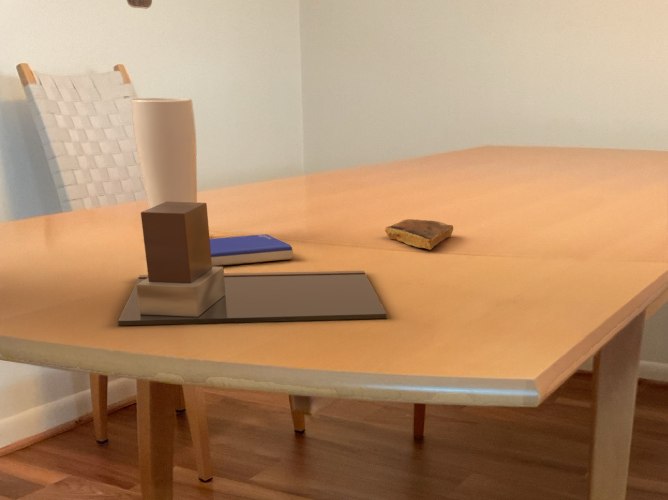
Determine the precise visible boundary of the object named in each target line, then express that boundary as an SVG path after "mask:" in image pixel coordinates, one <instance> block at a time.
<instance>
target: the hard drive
mask: <svg viewBox="0 0 668 500" xmlns="http://www.w3.org/2000/svg"><path fill="white" fill-rule="evenodd" d="M210 249H211V261H212V266H214V267H223V266H232V265H241V264H253V263H263V262H275V261H285V260H287V261H288V260H293V258H294V257H293V256H294V255H293V246H292V245H291V244H290V243H287V242H286V241H283V240H281V239H278V238H276V237H274V236H271V235H269V234H267V233H265V234H253V235H240V236H229V237H228V236H227V237H215V238H210Z"/></svg>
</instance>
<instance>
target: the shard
mask: <svg viewBox="0 0 668 500" xmlns="http://www.w3.org/2000/svg"><path fill="white" fill-rule="evenodd" d="M453 231H454V226H453V224H447V223H444V222H443V221H442V222H441V221H436V220H427V219H413V218H410V219H402V220H400V221H398V222H397V223H394V224H392V225H388V226H386V227H385V229H384V232H385V233H386V236H387V237H388V238H389V239H390V240H397V241H398V242H402V243H404V244H406V245H407V246H413V247H415V248H420V249H426V250H429V251H430V250H431V251H432V249H434V247H435V246H437V245H439V244H440V243H441V242H443V241H444V240H446V239H448V238H451V237H452V235H453Z"/></svg>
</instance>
